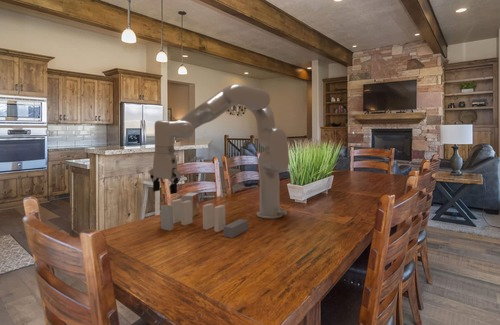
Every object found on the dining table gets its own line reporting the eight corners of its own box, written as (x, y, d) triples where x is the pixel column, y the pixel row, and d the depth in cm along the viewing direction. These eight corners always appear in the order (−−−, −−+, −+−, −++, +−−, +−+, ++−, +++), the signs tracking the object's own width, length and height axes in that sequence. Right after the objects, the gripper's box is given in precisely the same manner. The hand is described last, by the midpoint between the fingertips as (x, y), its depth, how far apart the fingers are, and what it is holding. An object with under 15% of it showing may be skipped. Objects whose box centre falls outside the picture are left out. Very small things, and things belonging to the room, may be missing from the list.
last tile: (225, 228, 130) (225, 205, 129) (218, 231, 126) (218, 207, 125) (221, 227, 131) (221, 204, 130) (214, 231, 127) (214, 207, 126)
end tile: (182, 220, 142) (181, 199, 141) (174, 223, 138) (174, 201, 137) (179, 220, 143) (178, 198, 142) (171, 222, 139) (170, 201, 138)
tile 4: (213, 226, 133) (213, 203, 132) (206, 229, 129) (206, 206, 128) (210, 225, 134) (209, 203, 133) (202, 228, 130) (202, 205, 129)
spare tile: (164, 227, 132) (164, 204, 131) (173, 229, 130) (172, 205, 129) (161, 228, 130) (160, 205, 129) (169, 230, 128) (169, 206, 127)
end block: (248, 229, 129) (248, 220, 128) (232, 238, 119) (232, 227, 118) (239, 228, 131) (239, 218, 130) (223, 236, 120) (223, 226, 120)
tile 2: (192, 222, 139) (191, 200, 138) (184, 225, 135) (184, 203, 134) (189, 222, 140) (188, 200, 139) (181, 224, 136) (180, 202, 135)
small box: (193, 217, 148) (192, 195, 146) (182, 217, 149) (181, 195, 148) (199, 213, 155) (198, 192, 154) (188, 212, 156) (188, 192, 155)
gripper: (186, 151, 126) (187, 192, 127) (156, 149, 134) (156, 188, 136) (173, 152, 119) (174, 195, 121) (142, 150, 128) (143, 191, 129)
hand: (165, 192), depth 128 cm, fingers open, 9 cm apart
